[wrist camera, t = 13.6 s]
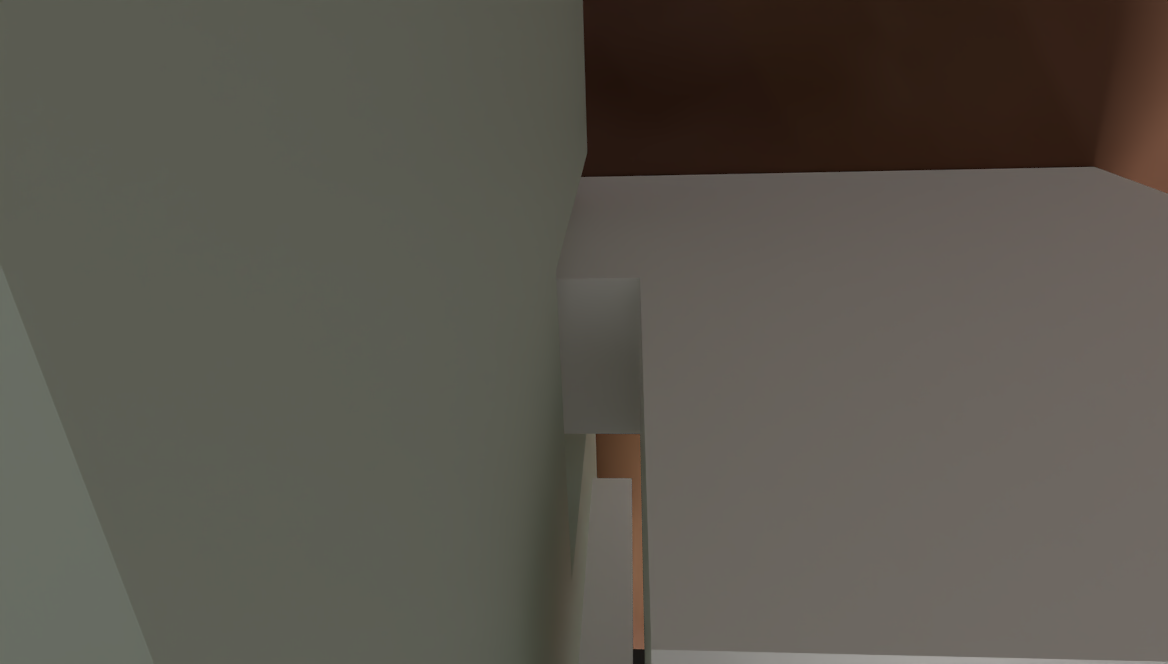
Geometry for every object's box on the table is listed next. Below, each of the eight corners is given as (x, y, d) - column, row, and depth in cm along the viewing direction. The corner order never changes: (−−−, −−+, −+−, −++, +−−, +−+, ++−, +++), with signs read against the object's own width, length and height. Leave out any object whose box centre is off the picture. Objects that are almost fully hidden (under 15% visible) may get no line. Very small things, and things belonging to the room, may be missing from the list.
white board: (1094, 166, 14) (2531, 693, 4) (1064, 281, 15) (2112, 966, 5) (37, 187, 16) (-1262, 604, 5) (73, 290, 17) (-944, 826, 6)
